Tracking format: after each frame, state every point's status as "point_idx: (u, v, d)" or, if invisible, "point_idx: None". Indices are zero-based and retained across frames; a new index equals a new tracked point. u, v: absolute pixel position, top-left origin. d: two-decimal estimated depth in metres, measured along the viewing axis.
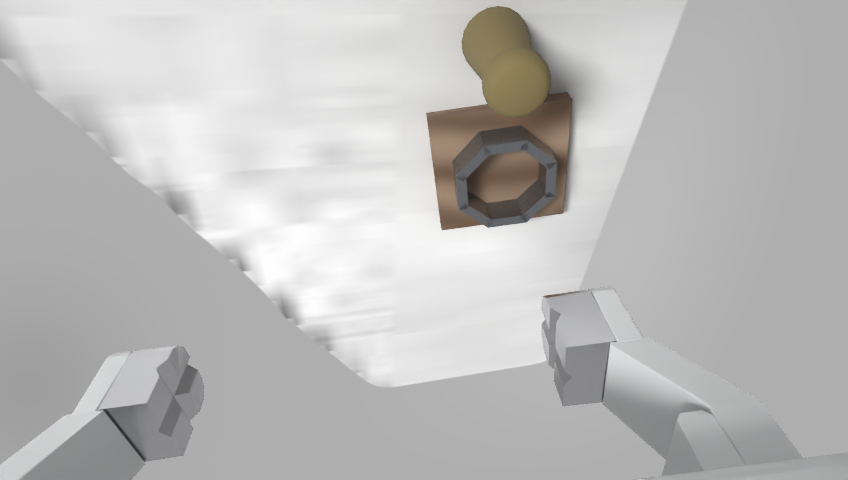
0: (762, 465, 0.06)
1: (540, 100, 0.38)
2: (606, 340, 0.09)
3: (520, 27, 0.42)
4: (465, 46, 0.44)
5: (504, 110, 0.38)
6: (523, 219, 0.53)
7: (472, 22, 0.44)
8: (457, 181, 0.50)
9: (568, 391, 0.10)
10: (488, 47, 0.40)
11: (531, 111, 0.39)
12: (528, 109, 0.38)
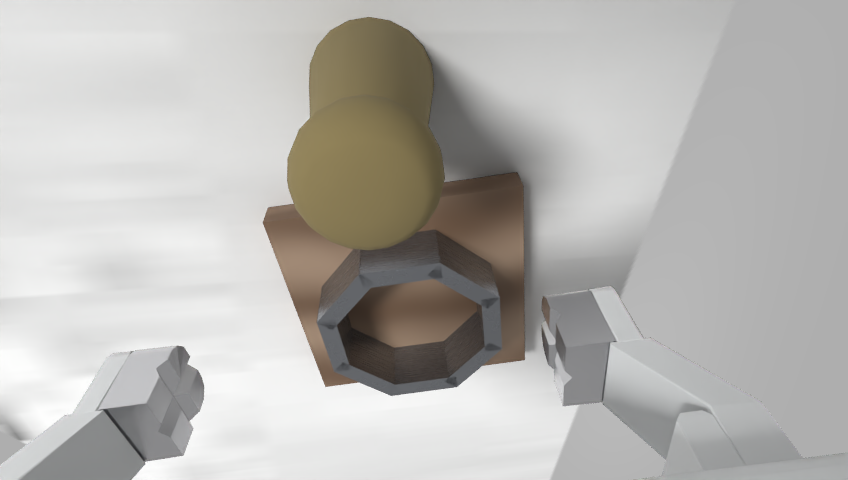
0: (762, 465, 0.06)
1: (417, 216, 0.16)
2: (606, 340, 0.09)
3: (401, 55, 0.21)
4: (309, 92, 0.23)
5: (337, 237, 0.16)
6: (451, 383, 0.31)
7: (320, 46, 0.23)
8: (321, 329, 0.28)
9: (568, 392, 0.10)
10: (321, 94, 0.19)
11: (402, 238, 0.17)
12: (392, 235, 0.16)
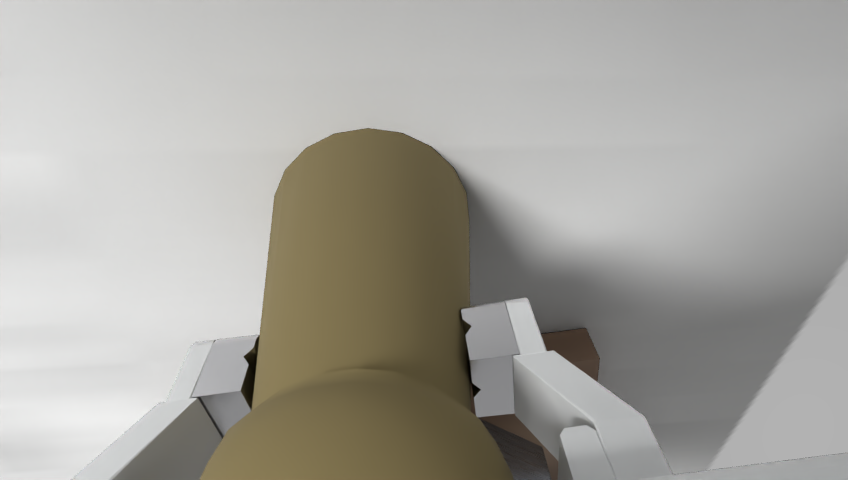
0: (762, 465, 0.06)
1: None
2: (510, 353, 0.09)
3: (423, 209, 0.12)
4: None
5: None
6: None
7: (288, 174, 0.14)
8: None
9: (479, 403, 0.10)
10: (276, 309, 0.10)
11: None
12: None
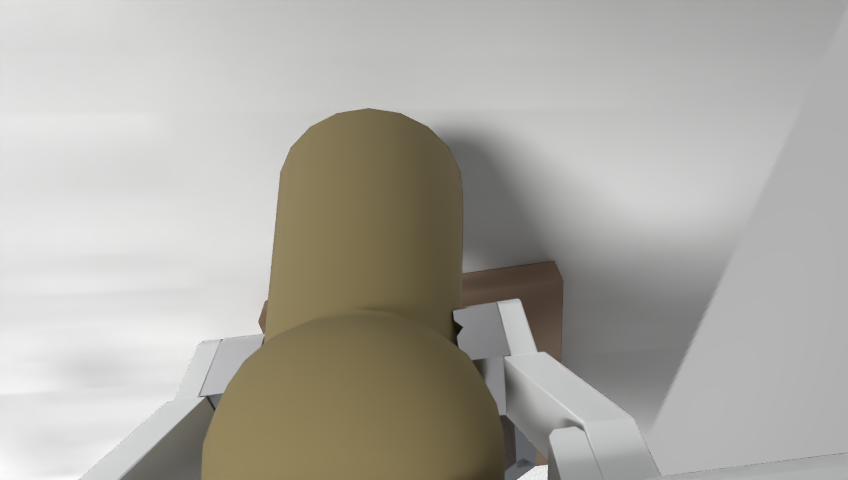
0: (762, 465, 0.06)
1: None
2: (501, 354, 0.09)
3: (419, 180, 0.13)
4: None
5: None
6: None
7: (294, 151, 0.15)
8: None
9: None
10: (285, 265, 0.11)
11: None
12: None
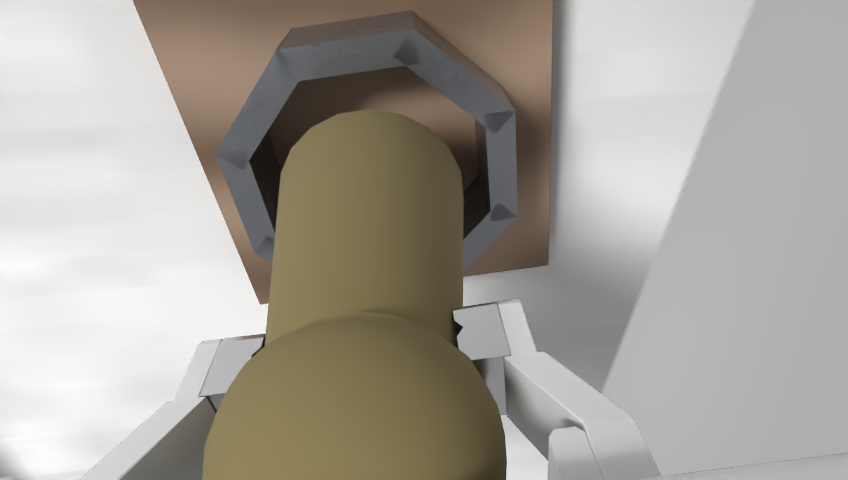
0: (762, 465, 0.06)
1: None
2: (501, 354, 0.09)
3: (420, 182, 0.13)
4: None
5: None
6: None
7: (294, 151, 0.15)
8: (224, 168, 0.17)
9: None
10: (285, 266, 0.11)
11: None
12: None
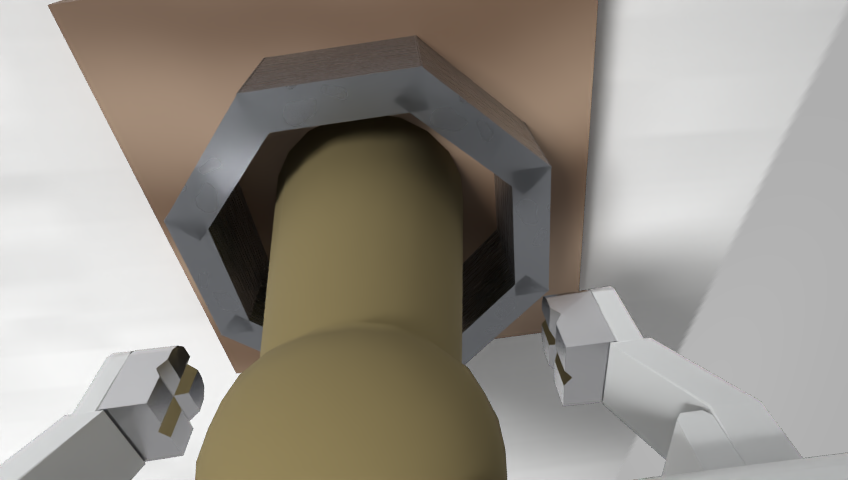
0: (762, 465, 0.06)
1: None
2: (606, 340, 0.09)
3: (419, 187, 0.13)
4: None
5: None
6: None
7: (291, 156, 0.15)
8: (177, 239, 0.13)
9: (568, 392, 0.10)
10: (281, 274, 0.11)
11: None
12: None
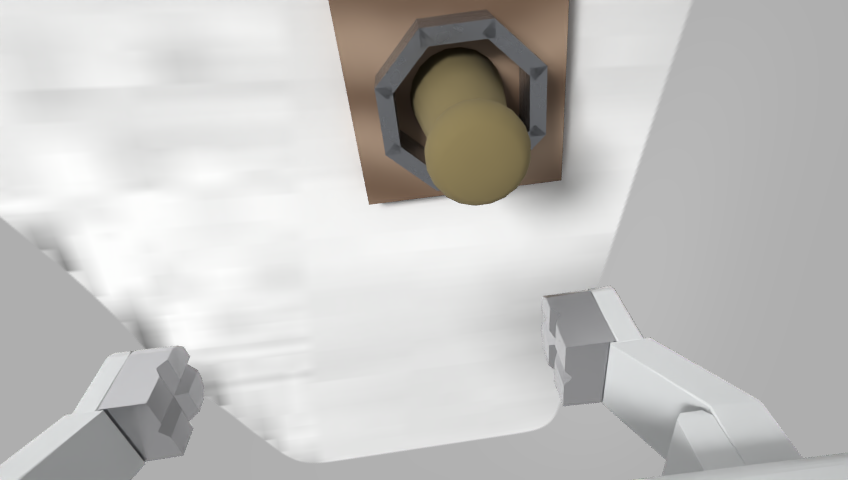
0: (762, 465, 0.06)
1: (514, 180, 0.24)
2: (606, 340, 0.09)
3: (489, 74, 0.29)
4: (413, 100, 0.31)
5: (458, 193, 0.24)
6: None
7: (423, 67, 0.31)
8: (378, 98, 0.29)
9: (568, 391, 0.10)
10: (438, 99, 0.27)
11: (501, 196, 0.24)
12: (496, 193, 0.24)
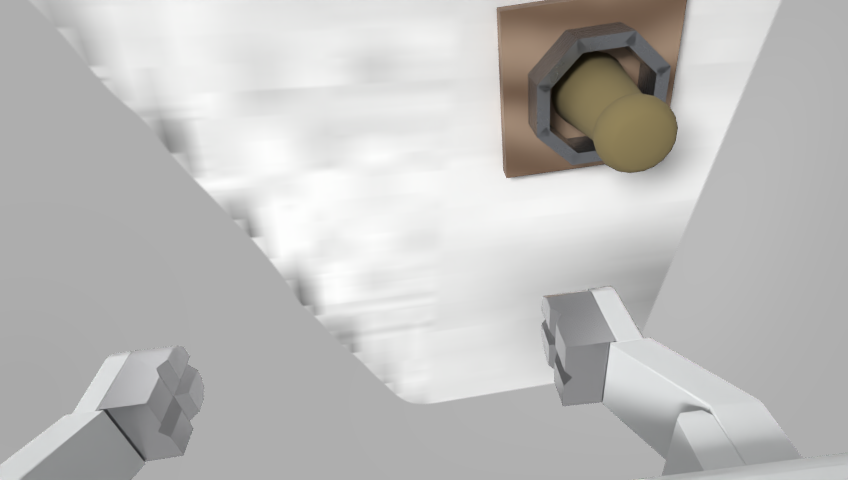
0: (762, 465, 0.06)
1: (665, 153, 0.33)
2: (606, 340, 0.09)
3: (626, 73, 0.37)
4: (558, 94, 0.40)
5: (623, 163, 0.33)
6: None
7: None
8: (538, 93, 0.38)
9: (568, 391, 0.10)
10: (595, 93, 0.35)
11: (652, 165, 0.33)
12: (650, 163, 0.33)
